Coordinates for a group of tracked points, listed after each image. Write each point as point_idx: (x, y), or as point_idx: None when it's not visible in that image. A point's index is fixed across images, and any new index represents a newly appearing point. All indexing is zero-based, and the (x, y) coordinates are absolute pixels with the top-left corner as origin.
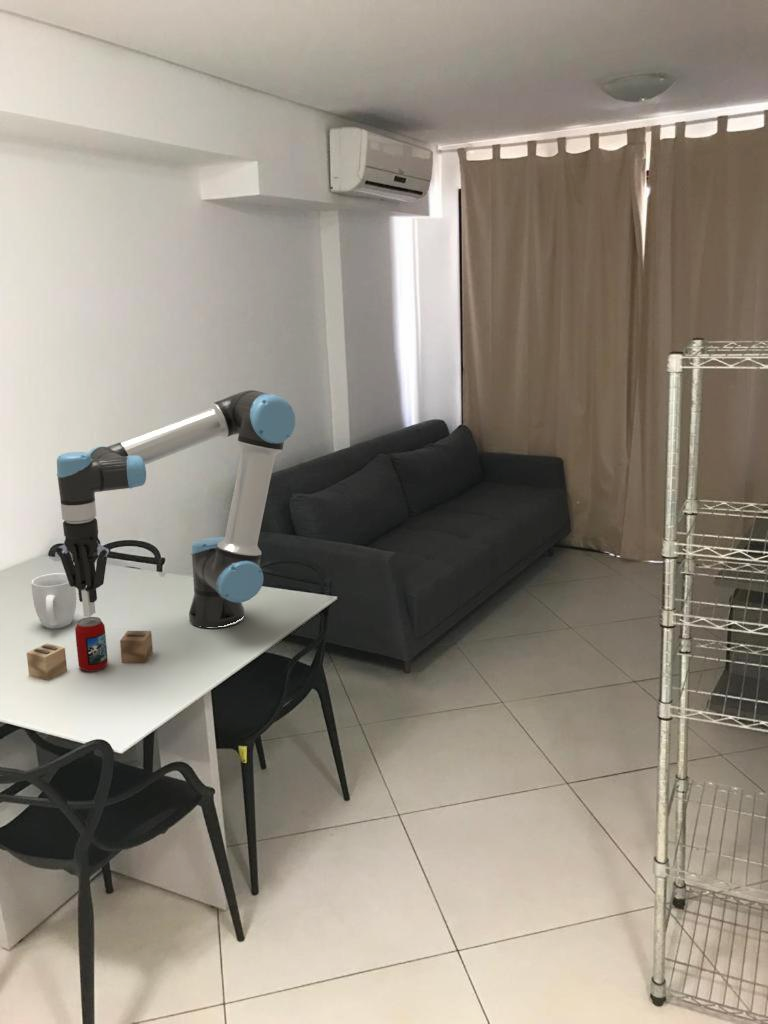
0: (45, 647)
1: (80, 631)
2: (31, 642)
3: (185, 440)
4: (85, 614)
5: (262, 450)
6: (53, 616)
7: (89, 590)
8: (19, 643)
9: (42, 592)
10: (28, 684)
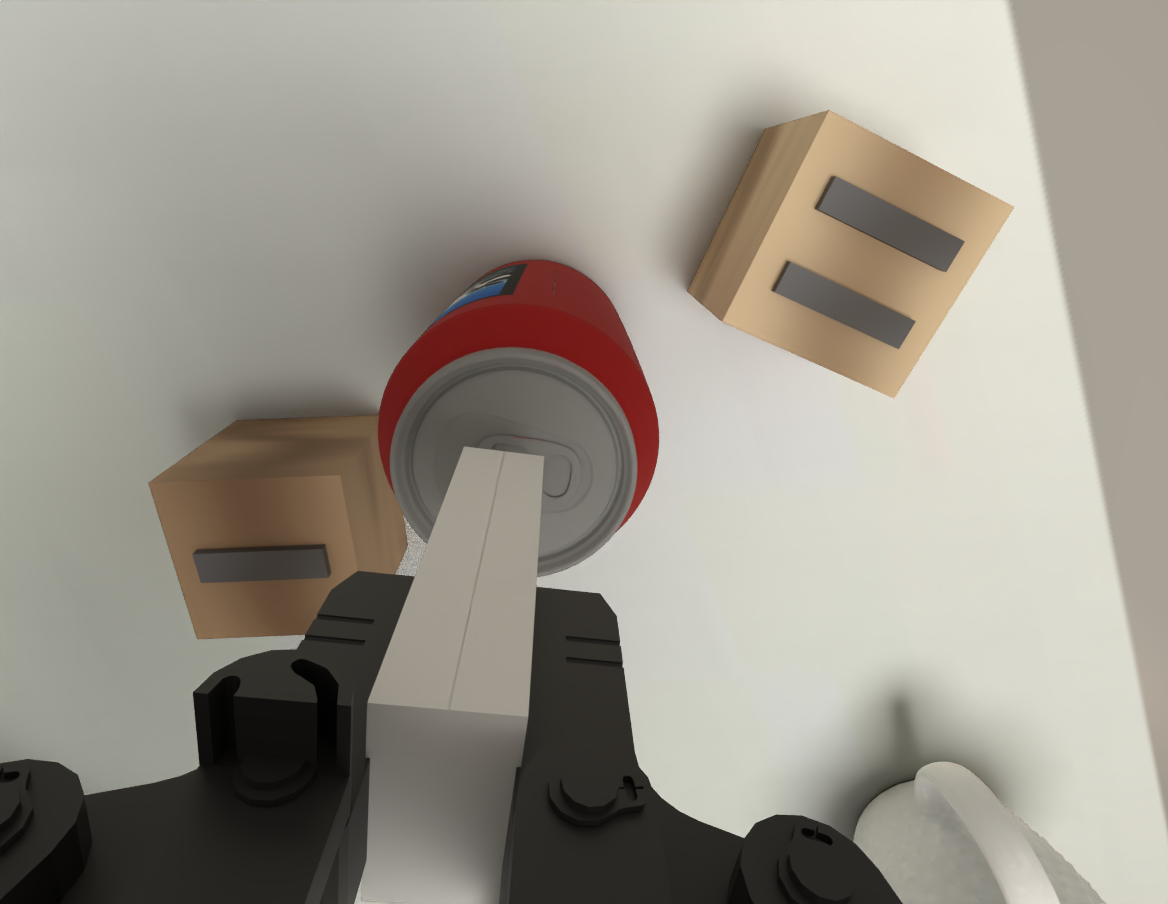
0: (878, 302)
1: (563, 319)
2: (1002, 634)
3: None
4: (519, 463)
5: None
6: (953, 799)
7: (233, 666)
8: (1065, 620)
9: None
10: (878, 56)
